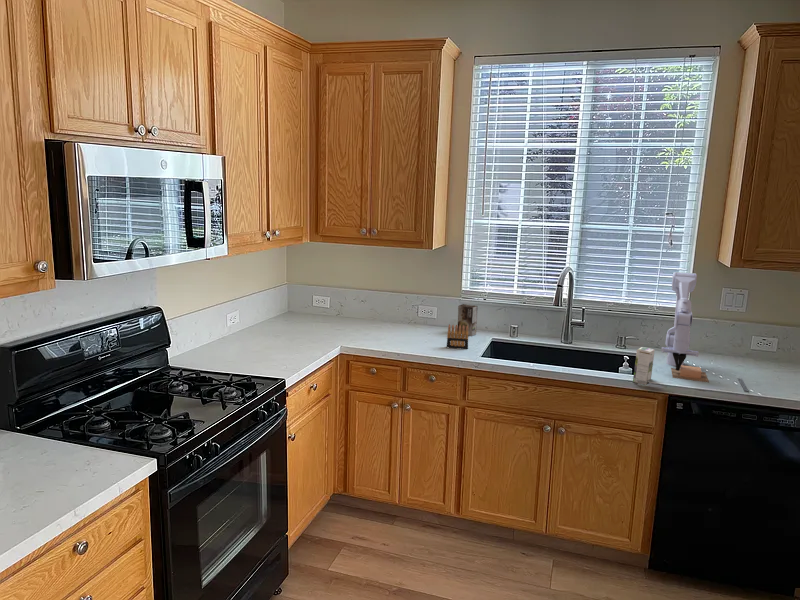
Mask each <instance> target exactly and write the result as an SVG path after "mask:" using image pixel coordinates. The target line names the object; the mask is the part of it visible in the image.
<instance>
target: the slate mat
mask: <svg viewBox="0 0 800 600" xmlns="http://www.w3.org/2000/svg"><path fill="white" fill-rule="evenodd" d="M737 381H738V382H739V384H740V387H741V389H742V390H743V392H745V393H750V390H749V388H748V387H747V385H746V384H745V381H744V379H743V378H740V377H738V378H737Z"/></svg>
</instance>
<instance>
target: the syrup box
mask: <svg viewBox="0 0 800 600" xmlns="http://www.w3.org/2000/svg"><path fill="white" fill-rule="evenodd" d="M655 351H656V350H655V349H653V348H650V347H644V346H641V347H640V348H638V349H636V354H635V363H634V370H633V377H632V382H633V383H636V384H642V385H645V386H646V385H648V384H650V382H649V381H650V380H652V374H653V368H654V367H653V366H654V361H655V360H654V359H655V358H654V357H655Z"/></svg>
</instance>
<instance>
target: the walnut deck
mask: <svg viewBox="0 0 800 600" xmlns="http://www.w3.org/2000/svg"><path fill="white" fill-rule="evenodd" d="M670 371H671V376H672V379H680V380H687V381H694V382H702V383H709V384H710V381H709V377H708V375H707V373H706V372H705V371H702V373H701V379H700V378H692V377H685V376H680V372H679V371H680V370H679V371H677V370H676V367H670Z"/></svg>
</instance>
